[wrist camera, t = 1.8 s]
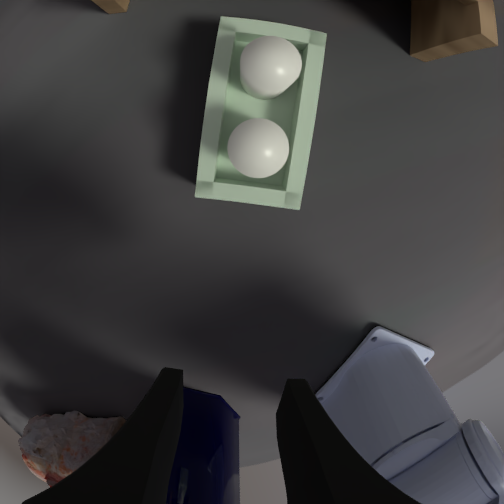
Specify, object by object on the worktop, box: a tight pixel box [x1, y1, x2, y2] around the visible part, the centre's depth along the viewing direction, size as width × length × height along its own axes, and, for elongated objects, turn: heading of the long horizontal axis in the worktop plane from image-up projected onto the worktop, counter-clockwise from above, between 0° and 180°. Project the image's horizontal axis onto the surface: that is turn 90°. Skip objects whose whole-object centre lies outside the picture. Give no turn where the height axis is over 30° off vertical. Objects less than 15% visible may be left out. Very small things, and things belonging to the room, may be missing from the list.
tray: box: [195, 17, 327, 210], centre depth 13 cm, size 9×5×4 cm, turn 172°
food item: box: [18, 411, 126, 487], centre depth 20 cm, size 14×8×10 cm, turn 106°
